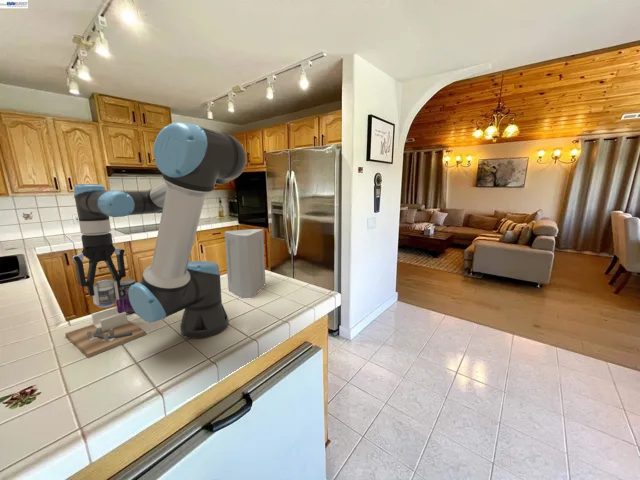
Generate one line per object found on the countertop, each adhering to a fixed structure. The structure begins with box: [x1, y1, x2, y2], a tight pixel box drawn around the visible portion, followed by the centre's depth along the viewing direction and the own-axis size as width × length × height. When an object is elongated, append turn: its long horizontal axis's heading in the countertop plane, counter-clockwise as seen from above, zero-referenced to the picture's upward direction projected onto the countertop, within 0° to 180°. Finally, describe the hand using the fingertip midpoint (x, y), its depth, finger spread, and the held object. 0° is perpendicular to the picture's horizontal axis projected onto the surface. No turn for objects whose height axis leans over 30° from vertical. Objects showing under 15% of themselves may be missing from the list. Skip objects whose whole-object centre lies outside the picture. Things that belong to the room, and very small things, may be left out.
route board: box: [64, 319, 147, 359], centre depth 86 cm, size 20×15×4 cm
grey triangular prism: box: [224, 228, 266, 299], centre depth 123 cm, size 19×15×28 cm
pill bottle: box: [95, 279, 116, 308], centre depth 89 cm, size 5×5×8 cm
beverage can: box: [115, 278, 136, 315], centre depth 102 cm, size 7×7×12 cm
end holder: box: [91, 306, 128, 332], centre depth 91 cm, size 8×7×4 cm
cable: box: [93, 329, 132, 339], centre depth 83 cm, size 13×4×1 cm, turn 81°
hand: (106, 301), depth 89 cm, fingers closed on pill bottle, 5 cm apart
